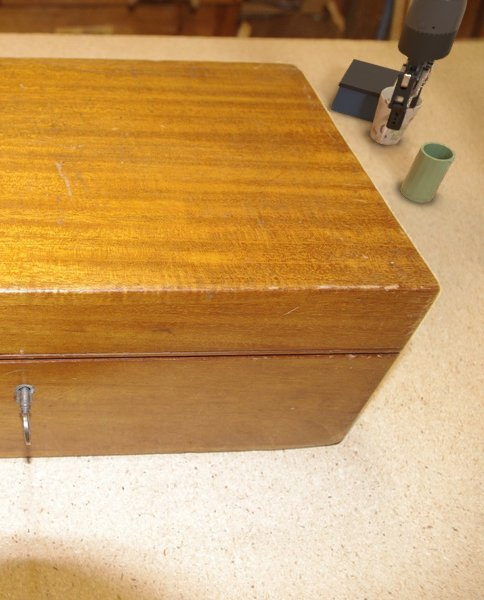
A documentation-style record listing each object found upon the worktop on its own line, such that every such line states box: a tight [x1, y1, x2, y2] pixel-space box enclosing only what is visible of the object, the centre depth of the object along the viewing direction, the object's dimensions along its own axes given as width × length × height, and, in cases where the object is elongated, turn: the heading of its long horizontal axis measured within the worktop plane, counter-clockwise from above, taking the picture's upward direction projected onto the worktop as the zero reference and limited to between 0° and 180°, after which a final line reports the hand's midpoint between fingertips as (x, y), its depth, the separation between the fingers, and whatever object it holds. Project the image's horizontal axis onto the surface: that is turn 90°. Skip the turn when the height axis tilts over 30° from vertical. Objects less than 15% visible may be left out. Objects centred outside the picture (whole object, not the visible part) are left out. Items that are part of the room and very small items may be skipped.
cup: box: [399, 141, 457, 204], centre depth 137 cm, size 6×6×10 cm
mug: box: [369, 86, 424, 146], centre depth 149 cm, size 8×13×10 cm, turn 149°
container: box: [331, 58, 400, 123], centre depth 161 cm, size 11×13×7 cm
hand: (400, 117), depth 118 cm, fingers open, 8 cm apart
